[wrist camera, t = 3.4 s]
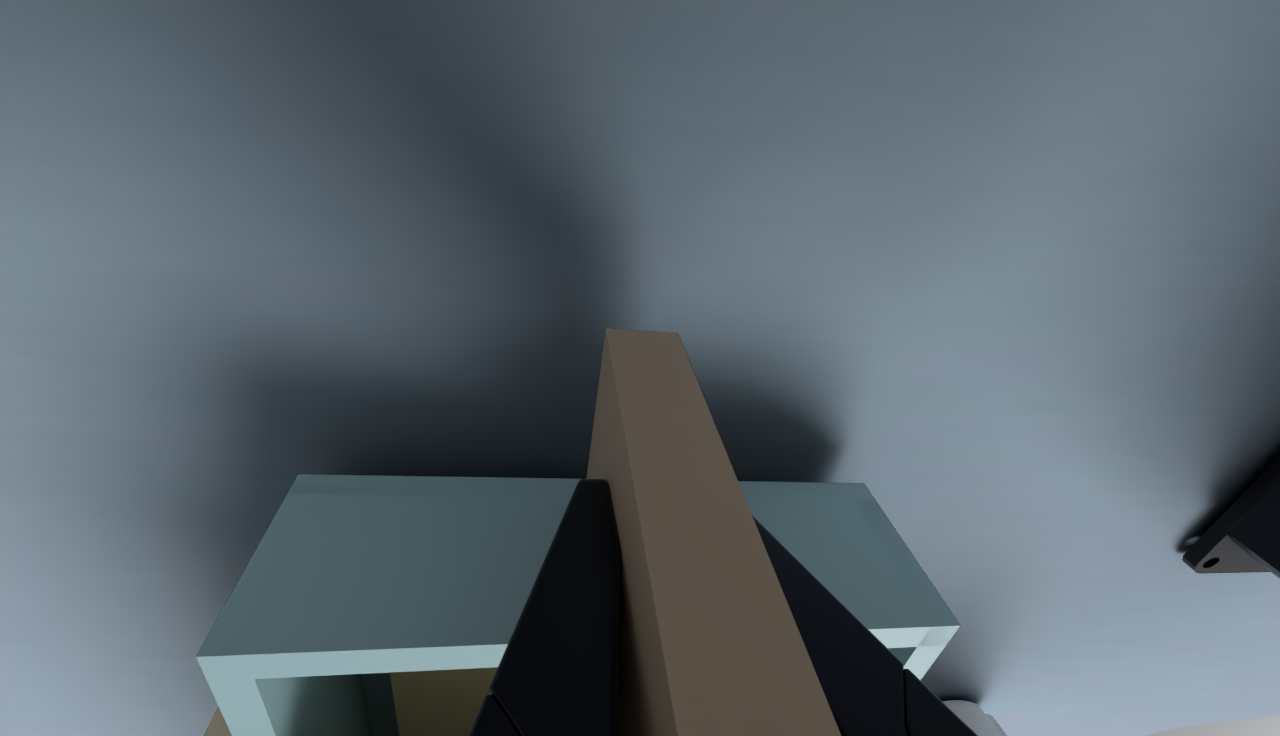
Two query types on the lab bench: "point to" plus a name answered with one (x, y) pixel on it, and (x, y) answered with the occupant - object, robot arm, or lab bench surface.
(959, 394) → the lab bench surface
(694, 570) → the tray
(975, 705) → the white product package
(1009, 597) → the lab bench surface
